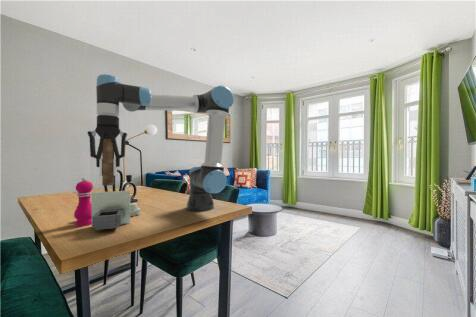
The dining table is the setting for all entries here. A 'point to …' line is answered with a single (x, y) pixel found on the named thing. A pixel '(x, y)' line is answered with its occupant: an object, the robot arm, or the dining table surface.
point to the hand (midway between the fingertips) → (108, 175)
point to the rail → (107, 163)
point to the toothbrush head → (134, 209)
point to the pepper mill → (84, 203)
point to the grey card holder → (110, 209)
